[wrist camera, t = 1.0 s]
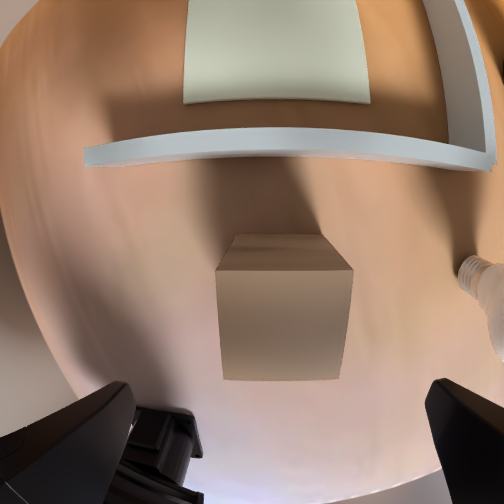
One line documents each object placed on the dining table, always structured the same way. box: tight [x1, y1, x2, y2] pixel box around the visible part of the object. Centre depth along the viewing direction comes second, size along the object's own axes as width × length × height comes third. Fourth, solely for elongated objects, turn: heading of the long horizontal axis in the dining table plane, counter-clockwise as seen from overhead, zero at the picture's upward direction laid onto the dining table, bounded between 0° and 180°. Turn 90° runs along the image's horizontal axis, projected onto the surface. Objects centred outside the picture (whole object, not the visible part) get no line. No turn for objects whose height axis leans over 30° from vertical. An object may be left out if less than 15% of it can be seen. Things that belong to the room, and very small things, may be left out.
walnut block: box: [215, 234, 354, 381], centre depth 14 cm, size 5×5×7 cm
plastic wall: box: [84, 0, 497, 172], centre depth 12 cm, size 16×22×4 cm
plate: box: [183, 0, 371, 105], centre depth 13 cm, size 11×11×1 cm
